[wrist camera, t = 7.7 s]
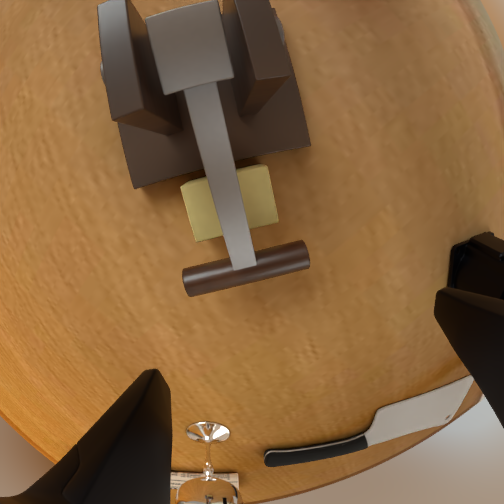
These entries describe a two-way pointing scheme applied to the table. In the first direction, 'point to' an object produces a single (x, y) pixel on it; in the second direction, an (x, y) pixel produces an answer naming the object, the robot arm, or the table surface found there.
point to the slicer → (174, 105)
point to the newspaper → (182, 477)
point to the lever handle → (214, 144)
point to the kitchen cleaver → (384, 425)
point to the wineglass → (208, 471)
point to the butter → (253, 194)
